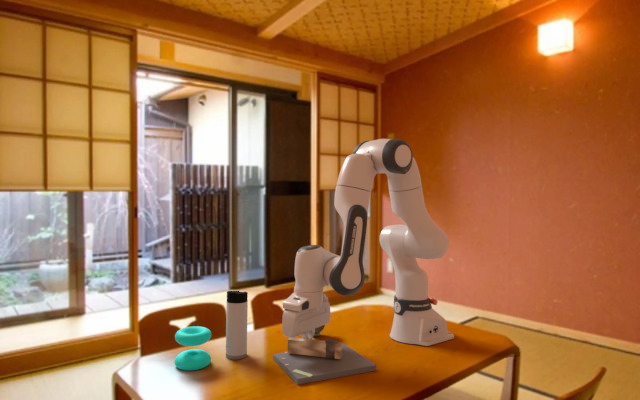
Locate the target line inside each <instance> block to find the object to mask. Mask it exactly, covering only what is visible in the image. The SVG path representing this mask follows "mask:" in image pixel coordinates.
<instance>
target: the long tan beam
mask: <svg viewBox="0 0 640 400" xmlns="http://www.w3.org/2000/svg"><path fill="white" fill-rule="evenodd" d="M342 344H343V342H341V341H340V342H339V341H338V340H337V339H333V338H329V339H328V338H327V339H325V340H319V339H313V338H312V339H304V338H302V337H293V338H291V337H288V339H287V351H286V352H287V353H292V354H301V355H309V356H318V357H326V358H328V359H334V358H335V359H341V357H342Z"/></svg>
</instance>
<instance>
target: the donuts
mask: <svg viewBox="0 0 640 400" xmlns="http://www.w3.org/2000/svg"><path fill="white" fill-rule="evenodd" d="M211 338H212V331H211V330H210V329H209V328H207V327H205V326H199V325H197V326H195V325H193V326H186V327H183V328H180V329H178V330H177V331H176V332H175V334H174V340H175V342H177V343H178V344H179V345H180V346H184V347H196V346H198V347H199V346H201V345H204V344H206V343H207V342H208V341H210V340H211ZM211 361H212V357H211V354H210V353H209V352H208V351H206V350H204V349H200V348H192V349H187V350H183V351H181V352H180V353H178V354H177V355H176V357H175V358H174V365H175V367H176V368H178V369H180V370H182V371H197V370H202V369H204V368H206V367H208V366H209V365H210V364H211Z"/></svg>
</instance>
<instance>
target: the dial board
mask: <svg viewBox="0 0 640 400" xmlns="http://www.w3.org/2000/svg"><path fill="white" fill-rule="evenodd" d="M287 352H288V351H284V352H277V353H273V354H272V360H273V361H274V362H275V363H276V364H277V365H278V366H279V367H280V368H281V369H282V370H283V372H285V373H286V374H287V375H288V377H289V378H290V379H291V381H293V382H294V383H295V384H296V385H297V386H298V385H304V384H309V383H314V382H319V381H324V380H325V381H326V380H331V379H335V378H342V377H347V376H352V375H353V376H354V375H358V374H365V373H369V372H374V371H377V364H376V363H374V362H372V361H371V360H369V359H367V358H366V357H365V356H363V355H362V354H360V353H359V352H357V351H356V350H355V349H353V348H352V347H350V346H349V345H347V344H346V343H342V357H341V359H335V358H334V359H328V358H326V357H318V356H309V355H301V354H292V353H287Z"/></svg>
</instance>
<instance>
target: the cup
mask: <svg viewBox="0 0 640 400" xmlns="http://www.w3.org/2000/svg"><path fill="white" fill-rule="evenodd" d="M325 325H326V324H325ZM325 325H323V326H320V327H318V328H315V333H314V336H313V338H318V337H320V336H321V334H322V333H321V332H323V331H324V329H325Z"/></svg>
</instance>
